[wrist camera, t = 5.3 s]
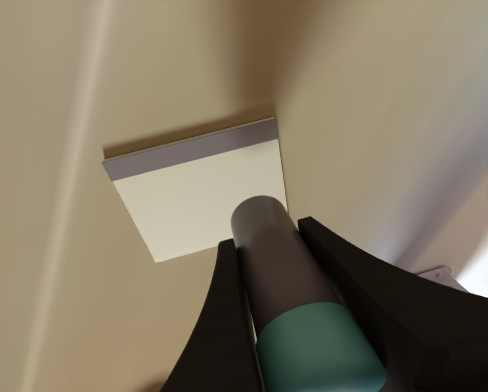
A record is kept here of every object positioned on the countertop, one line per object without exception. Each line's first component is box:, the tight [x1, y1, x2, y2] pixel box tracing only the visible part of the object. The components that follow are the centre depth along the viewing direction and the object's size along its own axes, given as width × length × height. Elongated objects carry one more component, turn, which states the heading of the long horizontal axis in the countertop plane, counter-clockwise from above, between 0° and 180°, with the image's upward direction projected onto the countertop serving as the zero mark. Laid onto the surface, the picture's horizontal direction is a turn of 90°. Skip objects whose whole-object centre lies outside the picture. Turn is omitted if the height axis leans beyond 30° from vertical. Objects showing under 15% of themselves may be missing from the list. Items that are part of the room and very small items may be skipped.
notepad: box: [102, 117, 288, 263], centre depth 17 cm, size 10×8×1 cm
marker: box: [231, 195, 387, 392], centre depth 10 cm, size 3×3×8 cm
